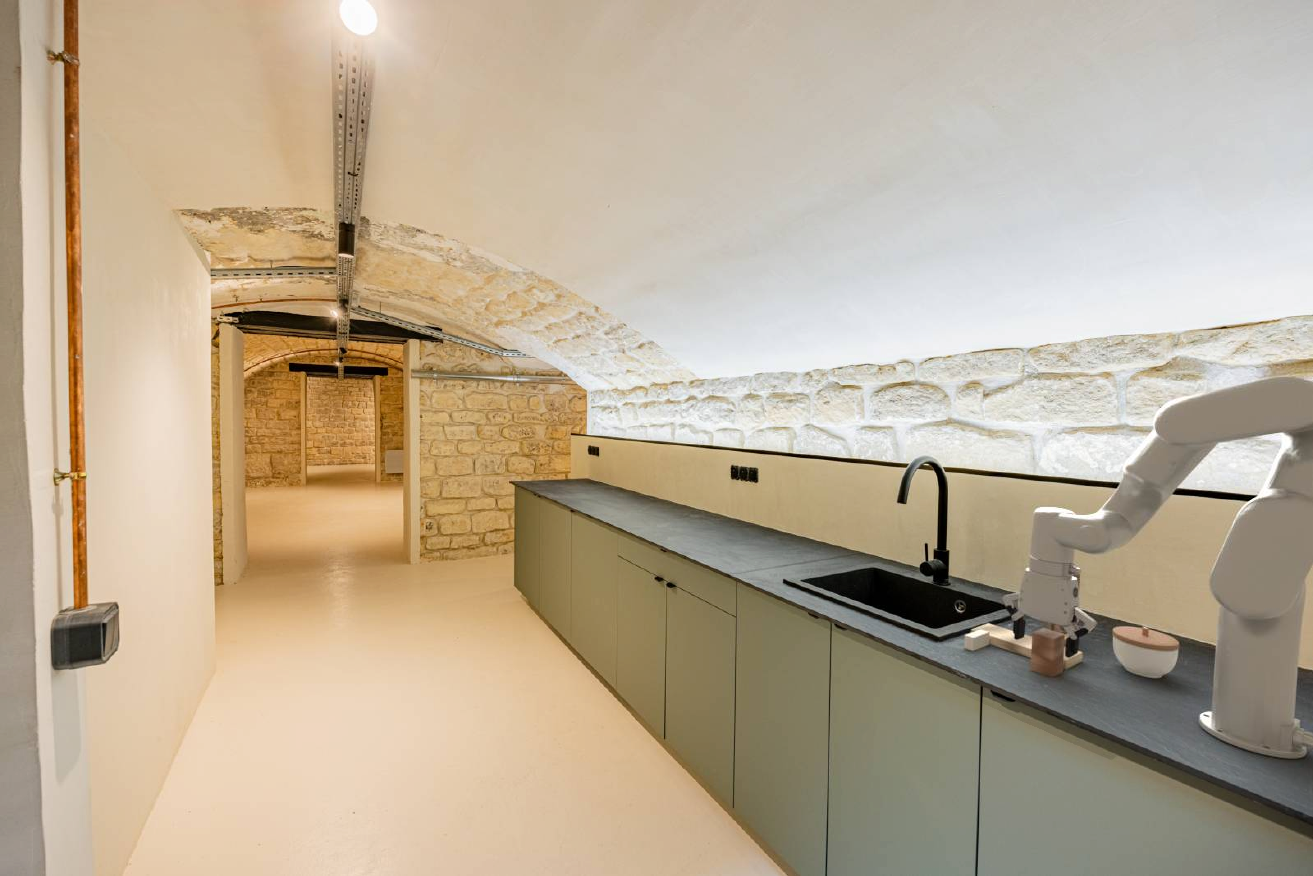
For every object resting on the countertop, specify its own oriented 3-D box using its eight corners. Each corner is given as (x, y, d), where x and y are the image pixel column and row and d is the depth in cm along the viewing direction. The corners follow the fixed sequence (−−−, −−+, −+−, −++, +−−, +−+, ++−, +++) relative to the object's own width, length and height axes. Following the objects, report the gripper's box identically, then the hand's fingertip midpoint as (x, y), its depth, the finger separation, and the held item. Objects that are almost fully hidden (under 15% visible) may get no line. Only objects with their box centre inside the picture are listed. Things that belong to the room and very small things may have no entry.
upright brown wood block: (1081, 662, 125) (1083, 626, 125) (1051, 677, 118) (1053, 639, 117) (1060, 655, 129) (1062, 620, 128) (1030, 669, 121) (1032, 632, 121)
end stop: (988, 644, 134) (989, 632, 134) (972, 651, 130) (973, 638, 130) (980, 641, 136) (980, 629, 135) (964, 648, 132) (964, 635, 132)
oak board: (1082, 661, 126) (1082, 652, 126) (1065, 669, 121) (1066, 660, 121) (987, 631, 142) (988, 623, 142) (970, 637, 138) (970, 629, 138)
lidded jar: (1183, 674, 120) (1186, 630, 120) (1169, 688, 114) (1172, 642, 113) (1119, 656, 129) (1122, 615, 128) (1103, 668, 122) (1105, 625, 122)
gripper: (1107, 576, 115) (1099, 659, 116) (1015, 554, 129) (1009, 628, 130) (1092, 581, 111) (1084, 667, 112) (998, 559, 125) (992, 635, 126)
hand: (1043, 646), depth 121 cm, fingers open, 9 cm apart
